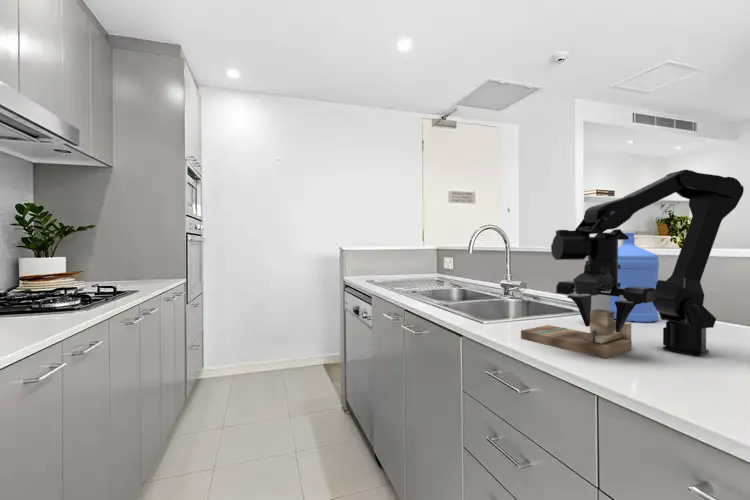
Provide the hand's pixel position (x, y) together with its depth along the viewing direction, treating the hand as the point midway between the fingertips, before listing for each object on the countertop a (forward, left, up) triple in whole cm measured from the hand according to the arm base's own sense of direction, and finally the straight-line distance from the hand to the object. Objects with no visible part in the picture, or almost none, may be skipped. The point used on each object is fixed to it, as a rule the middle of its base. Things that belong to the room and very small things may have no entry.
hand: (602, 329), depth 81 cm
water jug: (+14, -47, -5) cm, 49 cm away
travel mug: (+14, -27, -5) cm, 31 cm away
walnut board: (+7, 0, -5) cm, 8 cm away
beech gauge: (0, -2, -4) cm, 5 cm away
